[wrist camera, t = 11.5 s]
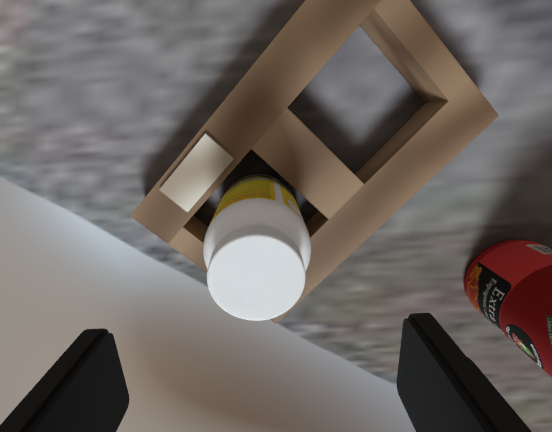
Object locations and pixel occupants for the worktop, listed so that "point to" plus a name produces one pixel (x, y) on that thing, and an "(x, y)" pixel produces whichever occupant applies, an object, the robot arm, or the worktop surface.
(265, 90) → the socket rack
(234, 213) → the pill bottle
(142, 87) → the worktop surface
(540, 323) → the canned food
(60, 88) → the worktop surface
